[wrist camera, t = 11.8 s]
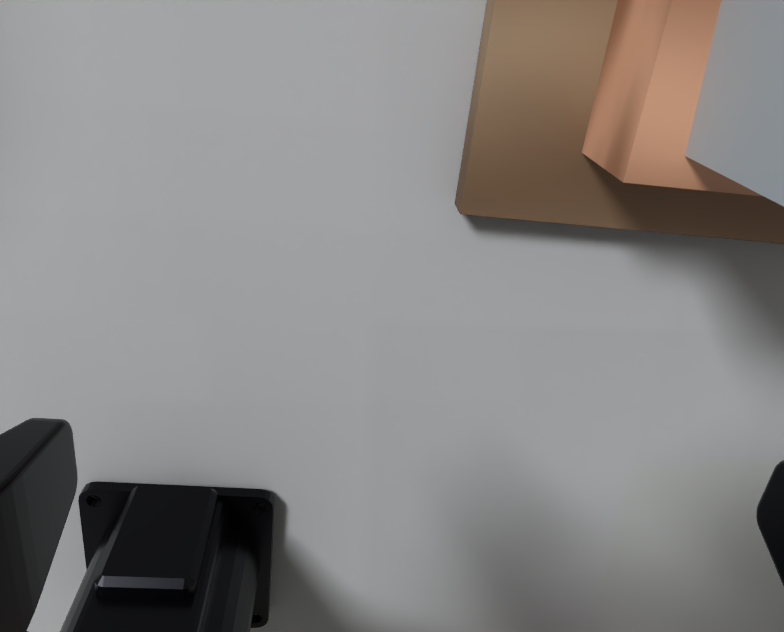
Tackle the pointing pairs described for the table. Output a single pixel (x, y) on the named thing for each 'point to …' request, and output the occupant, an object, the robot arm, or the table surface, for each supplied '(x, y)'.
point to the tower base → (549, 132)
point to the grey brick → (744, 98)
